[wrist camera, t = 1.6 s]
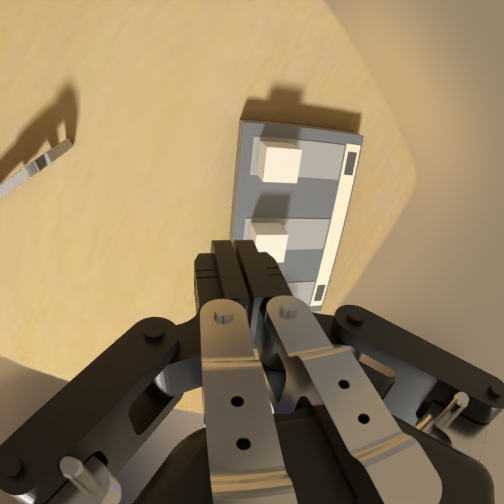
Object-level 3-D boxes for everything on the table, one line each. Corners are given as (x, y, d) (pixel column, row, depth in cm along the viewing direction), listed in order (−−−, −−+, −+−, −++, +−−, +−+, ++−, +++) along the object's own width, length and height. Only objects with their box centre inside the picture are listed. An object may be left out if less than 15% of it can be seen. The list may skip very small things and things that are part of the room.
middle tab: (250, 222, 31) (256, 235, 29) (280, 222, 31) (288, 234, 29) (248, 249, 32) (253, 263, 30) (276, 249, 33) (283, 262, 31)
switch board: (239, 119, 28) (244, 122, 26) (354, 132, 30) (364, 136, 29) (224, 306, 39) (227, 318, 37) (315, 300, 42) (321, 311, 40)
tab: (259, 140, 27) (267, 147, 25) (292, 143, 27) (302, 149, 25) (256, 173, 28) (263, 181, 26) (287, 174, 29) (296, 183, 27)
